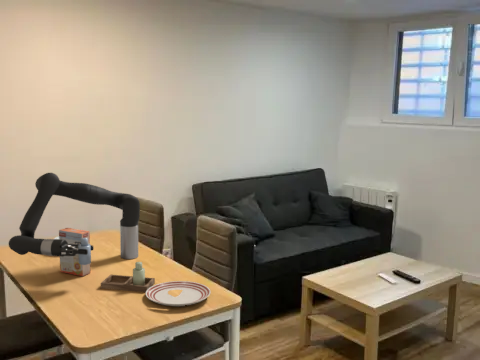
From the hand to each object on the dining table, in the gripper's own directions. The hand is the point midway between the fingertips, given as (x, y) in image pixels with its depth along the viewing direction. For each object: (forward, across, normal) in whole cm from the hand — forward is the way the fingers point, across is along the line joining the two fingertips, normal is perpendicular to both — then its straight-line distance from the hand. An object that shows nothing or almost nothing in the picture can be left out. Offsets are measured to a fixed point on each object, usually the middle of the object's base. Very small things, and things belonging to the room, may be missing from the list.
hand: (90, 250), depth 223 cm
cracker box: (-15, +15, +17) cm, 27 cm away
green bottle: (+21, +3, +16) cm, 27 cm away
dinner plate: (+41, -4, +18) cm, 45 cm away
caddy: (+16, +3, +17) cm, 24 cm away
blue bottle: (-3, 0, +6) cm, 7 cm away
